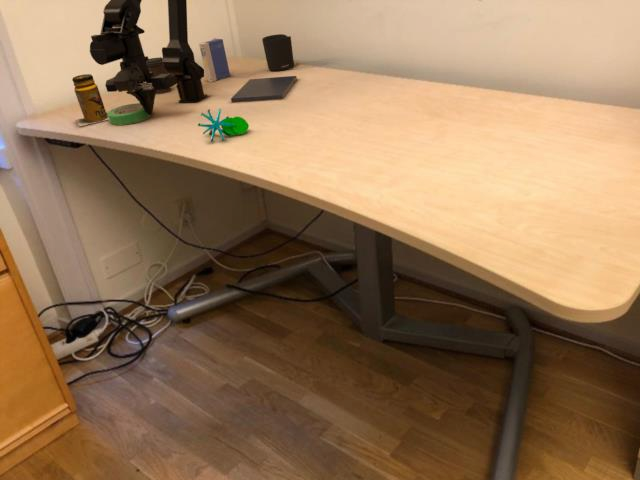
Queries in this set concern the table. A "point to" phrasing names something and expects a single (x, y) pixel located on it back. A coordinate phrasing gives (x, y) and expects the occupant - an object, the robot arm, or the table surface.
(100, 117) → the condiment
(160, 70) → the coffee cup
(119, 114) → the tape roll
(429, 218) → the table surface
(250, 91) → the notebook
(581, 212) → the table surface
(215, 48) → the blue white rectangular box
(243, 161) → the table surface
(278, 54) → the black speaker
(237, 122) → the stick construction toy
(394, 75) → the table surface
